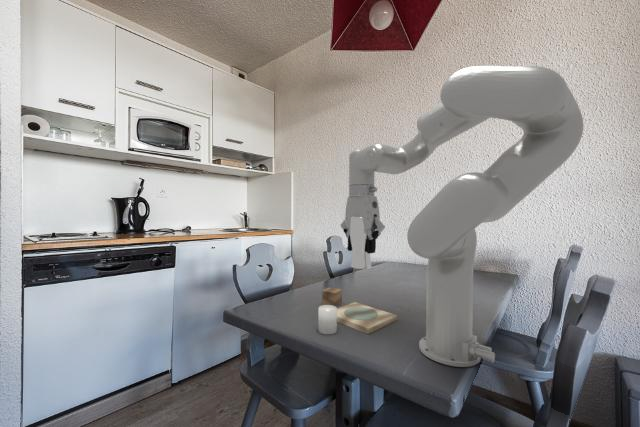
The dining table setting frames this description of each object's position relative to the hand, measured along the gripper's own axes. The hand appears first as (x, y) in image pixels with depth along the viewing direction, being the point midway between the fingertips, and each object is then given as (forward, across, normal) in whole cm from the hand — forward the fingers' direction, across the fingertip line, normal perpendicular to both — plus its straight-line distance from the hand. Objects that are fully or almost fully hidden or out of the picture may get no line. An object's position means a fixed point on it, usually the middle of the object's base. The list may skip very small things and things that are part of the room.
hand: (361, 251), depth 82 cm
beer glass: (+5, 0, 0) cm, 5 cm away
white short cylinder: (+20, +1, +13) cm, 24 cm away
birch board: (+20, 0, 0) cm, 20 cm away
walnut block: (+20, +15, -3) cm, 25 cm away
